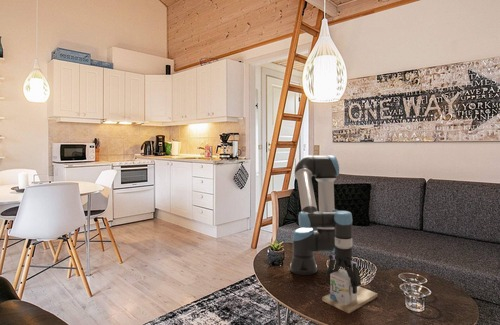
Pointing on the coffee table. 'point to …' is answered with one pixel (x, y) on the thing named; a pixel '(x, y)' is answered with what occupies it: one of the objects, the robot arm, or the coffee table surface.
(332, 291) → the ink box
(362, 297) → the board
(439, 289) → the coffee table surface
